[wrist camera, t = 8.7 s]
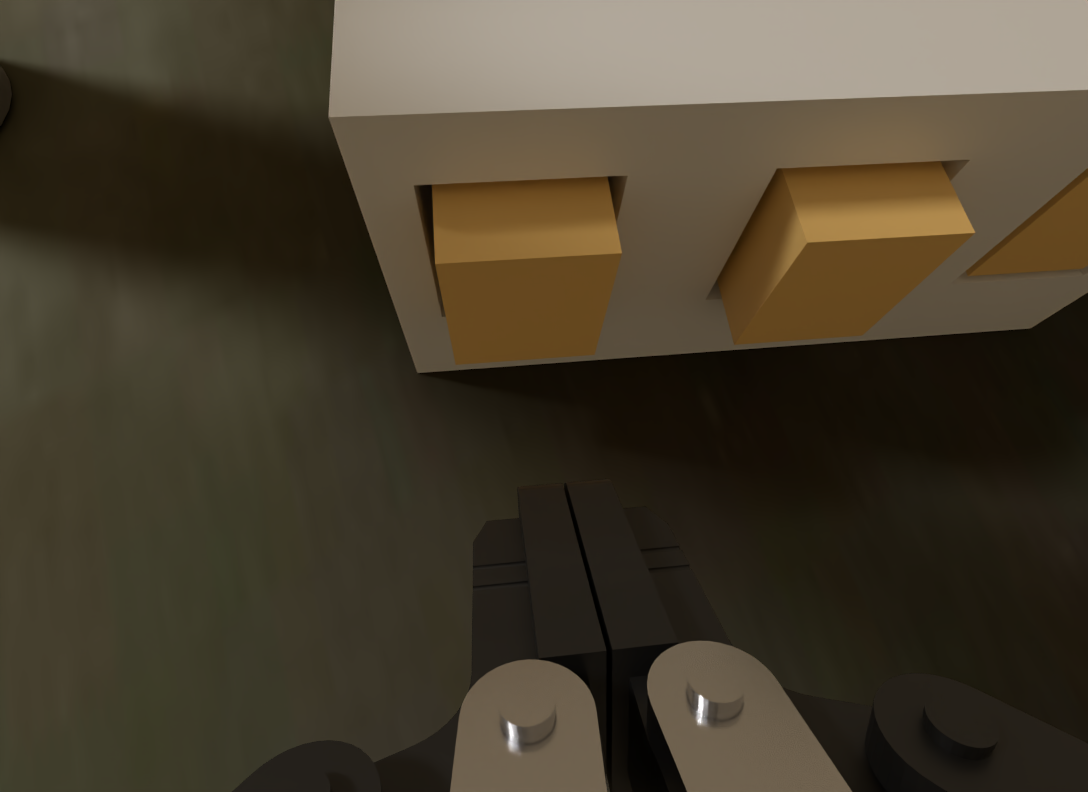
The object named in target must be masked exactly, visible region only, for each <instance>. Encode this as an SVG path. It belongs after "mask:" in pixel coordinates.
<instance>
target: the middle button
mask: <svg viewBox="0 0 1088 792" xmlns="http://www.w3.org/2000/svg"><path fill="white" fill-rule="evenodd" d="M974 234H975V231H974V229H973V227H972V225H971V223H970V221H969V219H968V217H967V215H966V213H965V211H964V209H963V207H962V204H961V202H960V200H959V198H958V196H957V194H956V192H955V190H954V188H953V186H952V184H951V182H950V180H949V178H948V176H947V174H946V172H945V170H944V168H943V166H942V164H941V162H940V161H929V162H908V163H886V164H864V165H843V166H821V167H799V168H778V169H776V171H775V173H774V175H773V177H772V179H771V180H770V182H769V184H768V186H767V188H766V190H765V191H764V193H763V195H762V197H761V199H760V201H759V203H758V204H757V206H756V208H755V210H754V212H753V214H752V215H751V217H750V219H749V221H748V223H747V225H746V226H745V228H744V230H743V232H742V234H741V236H740V237H739V239H738V241H737V243H736V245H735V247H734V249H733V250H732V252H731V254H730V256H729V258H728V260H727V261H726V263H725V265H724V267H723V269H722V271H721V272H720V274H719V276H718V278H717V282H718V286H719V289H720V293H721V297H722V301H723V305H724V308H725V312H726V316H727V320H728V324H729V327H730V331H731V335H732V339H733V343H734V345H739V344H753V343H767V342H781V341H794V340H808V339H822V338H836V337H850V336H862V335H864V334H865V333H866V332H867V331H868V330H869V329H870V328H871V327H872V326H874V325H875V324H876V323H877V322H878V321H879V320H880V319H881V318H882V317H883V316H885V315H886V314H887V313H888V312H889V311H890V310H891V309H892V308H893V307H894V306H896V305H897V304H898V303H899V302H900V301H901V300H902V299H903V298H904V297H905V296H907V295H908V294H909V293H910V292H911V291H912V290H913V289H914V288H915V287H916V286H918V285H919V284H920V283H921V282H922V281H923V280H924V279H925V278H926V277H927V276H929V275H930V274H931V273H932V272H933V271H934V270H935V269H936V268H937V267H938V266H940V265H941V264H942V263H943V262H944V261H945V260H946V259H947V258H948V257H949V256H951V255H952V254H953V253H954V252H955V251H956V250H957V249H958V248H959V247H960V246H962V245H963V244H964V243H965V242H966V241H967V240H968V239H969V238H970V237H971V236H973V235H974Z"/></svg>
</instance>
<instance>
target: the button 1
mask: <svg viewBox="0 0 1088 792" xmlns="http://www.w3.org/2000/svg"><path fill="white" fill-rule="evenodd" d="M432 197H433V224H434V251H435V266H436V271H437V276H438V281H439V286H440V291H441V296H442V301H443V306H444V310H445V315H446V320H447V325H448V330H449V335H450V340H451V345H452V349H453V354H454V359H455V364H456V365H461V364H475V363H489V362H503V361H517V360H531V359H545V358H558V357H572V356H586V355H595V352H596V348H597V344H598V340H599V337H600V333H601V329H602V326H603V322H604V318H605V315H606V311H607V307H608V303H609V300H610V296H611V292H612V289H613V285H614V281H615V278H616V274H617V270H618V266H619V263H620V259H621V255H622V250H621V245H620V240H619V235H618V229H617V224H616V219H615V214H614V208H613V203H612V198H611V193H610V187H609V182H608V177H607V176H605V177H583V178H561V179H540V180H518V181H496V182H475V183H453V184H432Z"/></svg>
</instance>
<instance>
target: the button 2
mask: <svg viewBox="0 0 1088 792" xmlns="http://www.w3.org/2000/svg"><path fill="white" fill-rule="evenodd" d="M1086 266H1088V168H1087V169H1086V170H1085V171H1084V172H1082V173H1081V174H1080V175H1079V176H1078V177H1076V178H1075V179H1074V180H1073V181H1072V182H1071V183H1069V184H1068V185H1067V186H1066V187H1065V188H1063V189H1062V190H1061V191H1060V192H1059V193H1057V194H1056V195H1055V196H1054V197H1053V198H1052V199H1050V200H1049V201H1048V202H1047V203H1046V204H1044V205H1043V206H1042V207H1041V208H1040V209H1039V210H1037V211H1036V212H1035V213H1034V214H1033V215H1031V216H1030V217H1029V218H1028V219H1027V220H1025V221H1024V222H1023V223H1022V224H1021V225H1020V226H1018V227H1017V228H1016V229H1015V230H1014V231H1012V232H1011V233H1010V234H1009V235H1008V236H1007V237H1005V238H1004V239H1003V240H1002V241H1001V242H999V243H998V244H997V245H996V246H995V247H993V248H992V249H991V250H990V251H989V252H988V253H986V254H985V255H984V256H983V257H982V258H980V259H979V260H978V261H977V262H976V263H975V264H973V265H972V266H971V267H970V268H969V269H967V270H966V273H967V275H968V276H978V275H994V274H1010V273H1025V272H1041V271H1056V270H1072V269H1083V268H1085V267H1086Z"/></svg>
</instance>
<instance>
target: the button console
mask: <svg viewBox="0 0 1088 792" xmlns="http://www.w3.org/2000/svg"><path fill="white" fill-rule="evenodd" d="M329 120H330V123H331V126H332V129H333V131H334V134H335V137H336V140H337V143H338V146H339V149H340V152H341V154H342V157H343V160H344V163H345V166H346V169H347V172H348V175H349V177H350V180H351V183H352V186H353V189H354V192H355V195H356V198H357V200H358V203H359V206H360V209H361V212H362V215H363V218H364V221H365V223H366V226H367V229H368V232H369V235H370V238H371V241H372V244H373V247H374V249H375V252H376V255H377V258H378V261H379V264H380V267H381V270H382V272H383V275H384V278H385V281H386V284H387V287H388V290H389V293H390V295H391V298H392V301H393V304H394V307H395V310H396V313H397V316H398V318H399V321H400V324H401V327H402V330H403V333H404V336H405V339H406V341H407V344H408V347H409V350H410V353H411V356H412V359H413V362H414V364H415V367H416V370H417V373H425V372H439V371H452V370H466V369H480V368H493V367H507V366H521V365H535V364H548V363H562V362H576V361H590V360H603V359H617V358H631V357H645V356H658V355H672V354H686V353H700V352H713V351H727V350H741V349H755V348H768V347H782V346H796V345H810V344H823V343H837V342H851V341H864V340H878V339H892V338H906V337H919V336H933V335H947V334H961V333H974V332H988V331H1002V330H1016V329H1029V328H1032V327H1033V326H1035V325H1037V324H1038V323H1040V322H1041V321H1043V320H1045V319H1046V318H1048V317H1049V316H1051V315H1053V314H1054V313H1056V312H1057V311H1059V310H1061V309H1062V308H1064V307H1065V306H1067V305H1069V304H1070V303H1072V302H1073V301H1075V300H1077V299H1078V298H1080V297H1081V296H1083V295H1084V294H1086V293H1088V266H1086V267H1085V268H1083V269H1072V270H1056V271H1041V272H1025V273H1010V274H994V275H978V276H968V275H967V273H966V270H967V269H969V268H970V267H971V266H972V265H973V264H975V263H976V262H977V261H978V260H979V259H980V258H982V257H983V256H984V255H985V254H986V253H988V252H989V251H990V250H991V249H992V248H993V247H995V246H996V245H997V244H998V243H999V242H1001V241H1002V240H1003V239H1004V238H1005V237H1007V236H1008V235H1009V234H1010V233H1011V232H1012V231H1014V230H1015V229H1016V228H1017V227H1018V226H1020V225H1021V224H1022V223H1023V222H1024V221H1025V220H1027V219H1028V218H1029V217H1030V216H1031V215H1033V214H1034V213H1035V212H1036V211H1037V210H1039V209H1040V208H1041V207H1042V206H1043V205H1044V204H1046V203H1047V202H1048V201H1049V200H1050V199H1052V198H1053V197H1054V196H1055V195H1056V194H1057V193H1059V192H1060V191H1061V190H1062V189H1063V188H1065V187H1066V186H1067V185H1068V184H1069V183H1071V182H1072V181H1073V180H1074V179H1075V178H1076V177H1078V176H1079V175H1080V174H1081V173H1082V172H1084V171H1085V170H1086V169H1087V168H1088V0H335V12H334V29H333V47H332V65H331V82H330V100H329ZM929 161H940V162H941V164H942V166H943V168H944V170H945V172H946V174H947V176H948V178H949V180H950V182H951V184H952V186H953V188H954V190H955V192H956V194H957V196H958V198H959V200H960V202H961V204H962V207H963V209H964V211H965V213H966V215H967V217H968V219H969V221H970V223H971V225H972V227H973V229H974V231H975V234H974V235H973V236H971V237H970V238H969V239H968V240H967V241H966V242H965V243H964V244H963V245H962V246H960V247H959V248H958V249H957V250H956V251H955V252H954V253H953V254H952V255H951V256H949V257H948V258H947V259H946V260H945V261H944V262H943V263H942V264H941V265H940V266H938V267H937V268H936V269H935V270H934V271H933V272H932V273H931V274H930V275H929V276H927V277H926V278H925V279H924V280H923V281H922V282H921V283H920V284H919V285H918V286H916V287H915V288H914V289H913V290H912V291H911V292H910V293H909V294H908V295H907V296H905V297H904V298H903V299H902V300H901V301H900V302H899V303H898V304H897V305H896V306H894V307H893V308H892V309H891V310H890V311H889V312H888V313H887V314H886V315H885V316H883V317H882V318H881V319H880V320H879V321H878V322H877V323H876V324H875V325H874V326H872V327H871V328H870V329H869V330H868V331H867V332H866V333H865V334H864V335H862V336H850V337H836V338H822V339H808V340H794V341H781V342H767V343H753V344H739V345H734V343H733V339H732V335H731V331H730V327H729V324H728V320H727V316H726V312H725V308H724V305H723V301H722V297H721V293H720V289H719V286H718V282H717V278H718V276H719V274H720V272H721V271H722V269H723V267H724V265H725V263H726V261H727V260H728V258H729V256H730V254H731V252H732V250H733V249H734V247H735V245H736V243H737V241H738V239H739V237H740V236H741V234H742V232H743V230H744V228H745V226H746V225H747V223H748V221H749V219H750V217H751V215H752V214H753V212H754V210H755V208H756V206H757V204H758V203H759V201H760V199H761V197H762V195H763V193H764V191H765V190H766V188H767V186H768V184H769V182H770V180H771V179H772V177H773V175H774V173H775V171H776V169H778V168H799V167H821V166H843V165H864V164H886V163H908V162H929ZM605 176H607V177H608V182H609V187H610V193H611V198H612V203H613V208H614V214H615V219H616V224H617V229H618V235H619V240H620V245H621V250H622V255H621V259H620V263H619V266H618V270H617V274H616V278H615V281H614V285H613V289H612V292H611V296H610V300H609V303H608V307H607V311H606V315H605V318H604V322H603V326H602V329H601V333H600V337H599V340H598V344H597V348H596V352H595V355H586V356H572V357H558V358H545V359H531V360H517V361H503V362H489V363H475V364H461V365H456V364H455V359H454V354H453V349H452V345H451V340H450V335H449V330H448V325H447V320H446V315H445V310H444V306H443V301H442V296H441V291H440V286H439V281H438V276H437V271H436V266H435V251H434V224H433V197H432V184H453V183H475V182H496V181H518V180H540V179H561V178H583V177H605Z"/></svg>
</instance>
